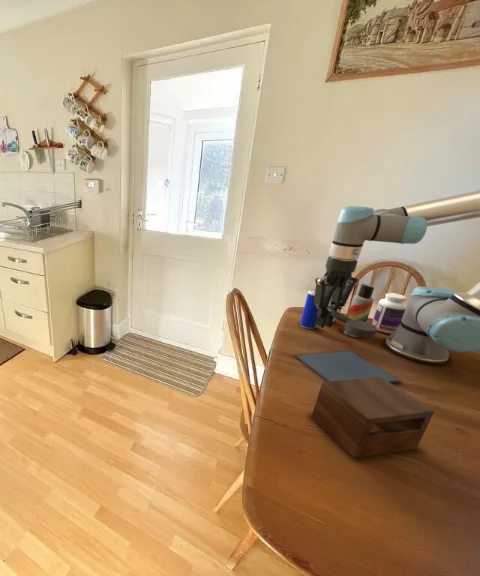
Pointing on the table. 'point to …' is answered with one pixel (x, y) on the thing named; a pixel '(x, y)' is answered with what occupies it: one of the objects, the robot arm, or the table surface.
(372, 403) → the wooden box
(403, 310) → the pill bottle
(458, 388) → the table surface
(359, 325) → the small frying pan
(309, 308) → the beverage can
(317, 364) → the mat
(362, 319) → the lotion bottle
